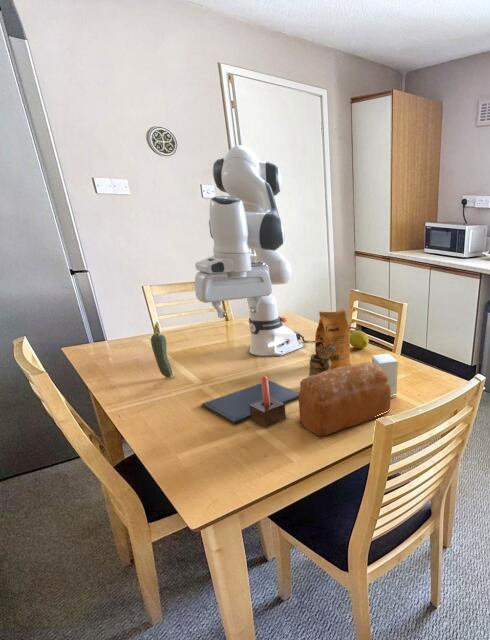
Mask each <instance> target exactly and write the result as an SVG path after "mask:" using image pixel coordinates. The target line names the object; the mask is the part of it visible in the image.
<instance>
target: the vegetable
mask: <svg viewBox="0 0 490 640" xmlns="http://www.w3.org/2000/svg"><path fill="white" fill-rule="evenodd" d="M150 345H151V349H152V352H153V355H154V358H155V361H156V364H157V367H158V370H159V372H160V373H161V375H162V376H163V377H165V378H166V379H169V378H172V377H173V375H174V374H173V369H172V366H171V362H170V360H169V358H168V351H167V339H166V337H165V336H164V335H163V334H162V333H161V327H160V324H159V321H155V324H154V328H153V334H152V335H151V337H150Z"/></svg>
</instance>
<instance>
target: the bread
mask: <svg viewBox="0 0 490 640" xmlns="http://www.w3.org/2000/svg"><path fill="white" fill-rule="evenodd" d="M299 388H300V390H299V392H298V393H299V394H298V396H299V398H298V409H299V410H298V411H299V412H298V413H299V414H298V415H299V422H300V423H301V424H302V425H303V426H304V427H305V428H306V429H307V430H308V431H310V432H311V433H313V434H315V435H317V436H320V437H321V436H327V435H330V434H334V433H337V432H340V431H342V430H345V429H348V428H351V427H353V426H356V425H359V424H362V423H365V422H367V421H370V420H373V419H376V418H379V417H382V416H385V415H387V414H388V413H389V412H390V411H391V398H390V396H391V392H390V385H389V382H388V376H387V374H386V373H385V372H384V371H383V370H382V369H381V368H380V367H378V366H377V365H376V364H373V363H372V362H370V361H365V362H361V363H354V364H350V365H347V366H342V367H337V368H333V369H331V370H327V371H324V372H321V373H319V374H317V375H313V376H309V375H308V376H306V377H304V378H302V379H301V381H300V382H299ZM389 409H390V410H389ZM388 410H389V411H388ZM386 411H388V412H387V413H384V412H386ZM381 413H384V414H381ZM379 414H381V415H379ZM377 415H379V416H377ZM375 416H376V417H375Z"/></svg>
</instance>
